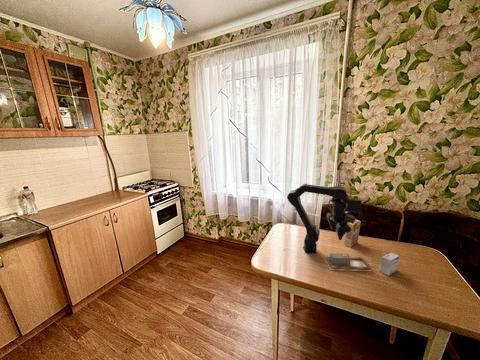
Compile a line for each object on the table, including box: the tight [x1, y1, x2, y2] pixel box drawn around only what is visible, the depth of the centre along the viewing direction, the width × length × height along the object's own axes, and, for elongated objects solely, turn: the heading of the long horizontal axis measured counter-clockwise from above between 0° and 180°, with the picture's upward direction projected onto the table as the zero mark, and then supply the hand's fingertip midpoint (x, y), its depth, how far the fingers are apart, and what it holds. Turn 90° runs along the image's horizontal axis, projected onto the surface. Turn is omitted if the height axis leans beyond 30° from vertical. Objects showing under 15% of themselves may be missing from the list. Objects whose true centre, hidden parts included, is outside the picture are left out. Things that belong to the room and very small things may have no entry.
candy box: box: [343, 219, 361, 248], centre depth 124 cm, size 9×4×15 cm, turn 123°
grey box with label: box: [329, 252, 351, 265], centre depth 106 cm, size 9×4×5 cm, turn 85°
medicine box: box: [379, 252, 401, 277], centre depth 100 cm, size 8×4×9 cm, turn 117°
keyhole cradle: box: [324, 256, 373, 272], centre depth 106 cm, size 20×9×2 cm, turn 85°
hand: (336, 235), depth 111 cm, fingers open, 9 cm apart
